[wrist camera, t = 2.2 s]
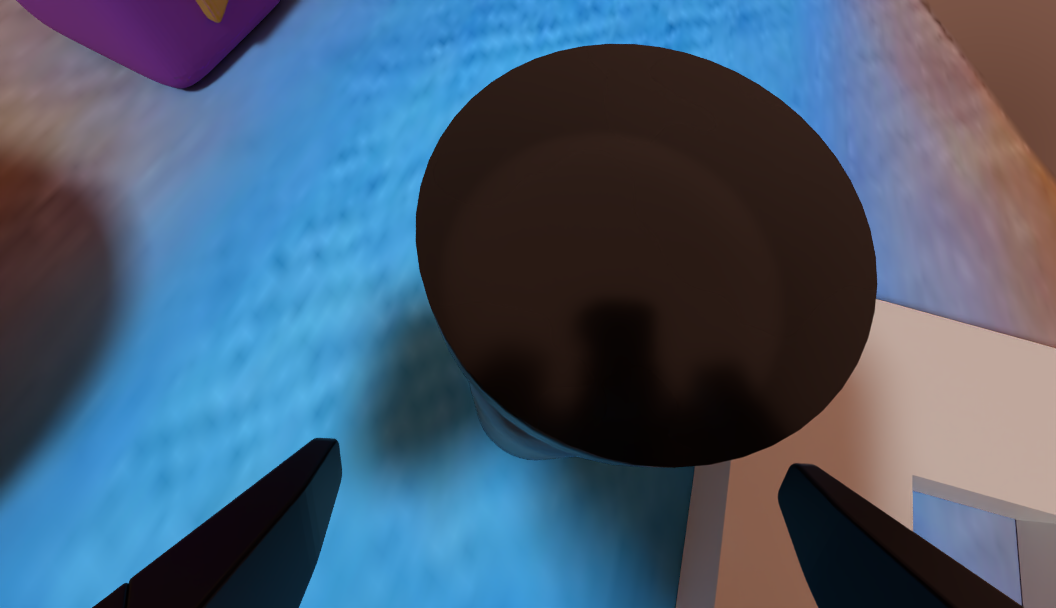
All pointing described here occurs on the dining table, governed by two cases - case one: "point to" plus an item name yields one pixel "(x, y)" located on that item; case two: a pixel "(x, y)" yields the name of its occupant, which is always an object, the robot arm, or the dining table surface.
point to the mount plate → (892, 458)
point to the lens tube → (642, 260)
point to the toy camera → (156, 31)
